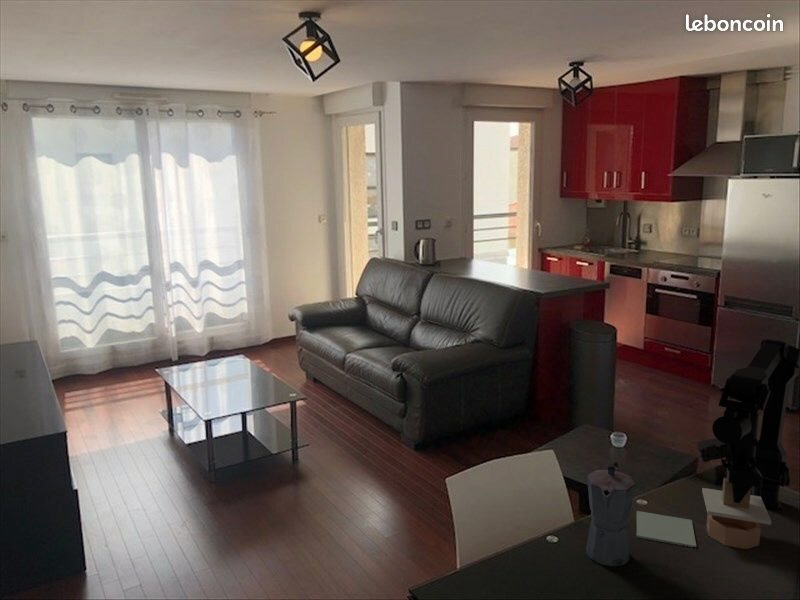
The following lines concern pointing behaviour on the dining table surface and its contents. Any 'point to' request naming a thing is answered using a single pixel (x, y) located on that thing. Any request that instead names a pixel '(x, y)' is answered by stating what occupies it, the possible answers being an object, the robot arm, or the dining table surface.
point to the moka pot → (609, 515)
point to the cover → (735, 505)
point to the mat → (665, 529)
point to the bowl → (733, 531)
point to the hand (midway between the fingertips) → (735, 499)
